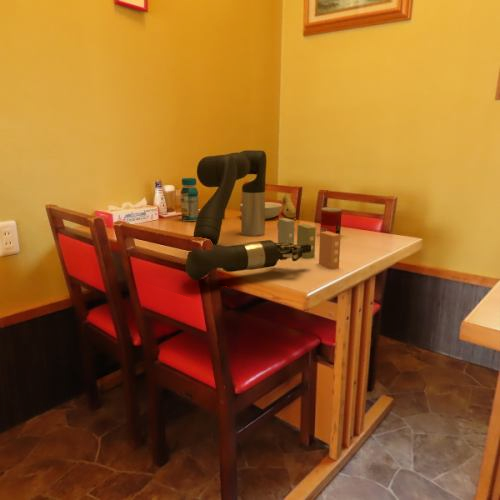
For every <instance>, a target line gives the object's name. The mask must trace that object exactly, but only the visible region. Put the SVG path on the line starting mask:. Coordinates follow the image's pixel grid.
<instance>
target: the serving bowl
mask: <svg viewBox="0 0 500 500" xmlns="http://www.w3.org/2000/svg"><path fill="white" fill-rule="evenodd" d="M239 207H240V211H241V212H242V203H240V205H239ZM282 209H283V203H282V204H281V203H278V202H272V201H271V202H270V201H265V220H269V219H273V218H274V217H276V216H279V214H281V211H282Z"/></svg>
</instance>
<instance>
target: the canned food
mask: <svg viewBox="0 0 500 500" xmlns="http://www.w3.org/2000/svg"><path fill="white" fill-rule="evenodd" d="M342 213H343V211H342V208H339V207H333V206H332V207H321V211H320V228H319V229H320V232H326V231H329V232H332V233H336V234H339V235H341V228H342V227H341V226H342ZM320 232H319V233H320Z"/></svg>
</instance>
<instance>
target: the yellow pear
mask: <svg viewBox="0 0 500 500" xmlns="http://www.w3.org/2000/svg"><path fill="white" fill-rule="evenodd" d="M279 214H280V215H279V216H278V219H282V218H287V219H290V220H293V221H295V222H296V221H297V218H296V217H297V211H296V207H295V206H294V204H293V202H292V199H291V197H290V195H289V194H288V193H287V194H285V195H284V196H283V197H282V209H281V212H280V213H279ZM276 226H277V227H278V222H277V224H276Z"/></svg>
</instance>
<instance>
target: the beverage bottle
mask: <svg viewBox="0 0 500 500" xmlns="http://www.w3.org/2000/svg"><path fill="white" fill-rule="evenodd" d="M181 186H182V189H181V191H180V194H181V197H180V202H181V203H180V207H181V221H182V220H183V221H182V222H185V221H195V222H196V220H197V216H198V214H199V212H200V211H199V209H200V208H199V207H200V206H199V201H200V198H199V196H198V194H199V191H198V189H197V187H196V186H197V178H196V177H182V178H181Z"/></svg>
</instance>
